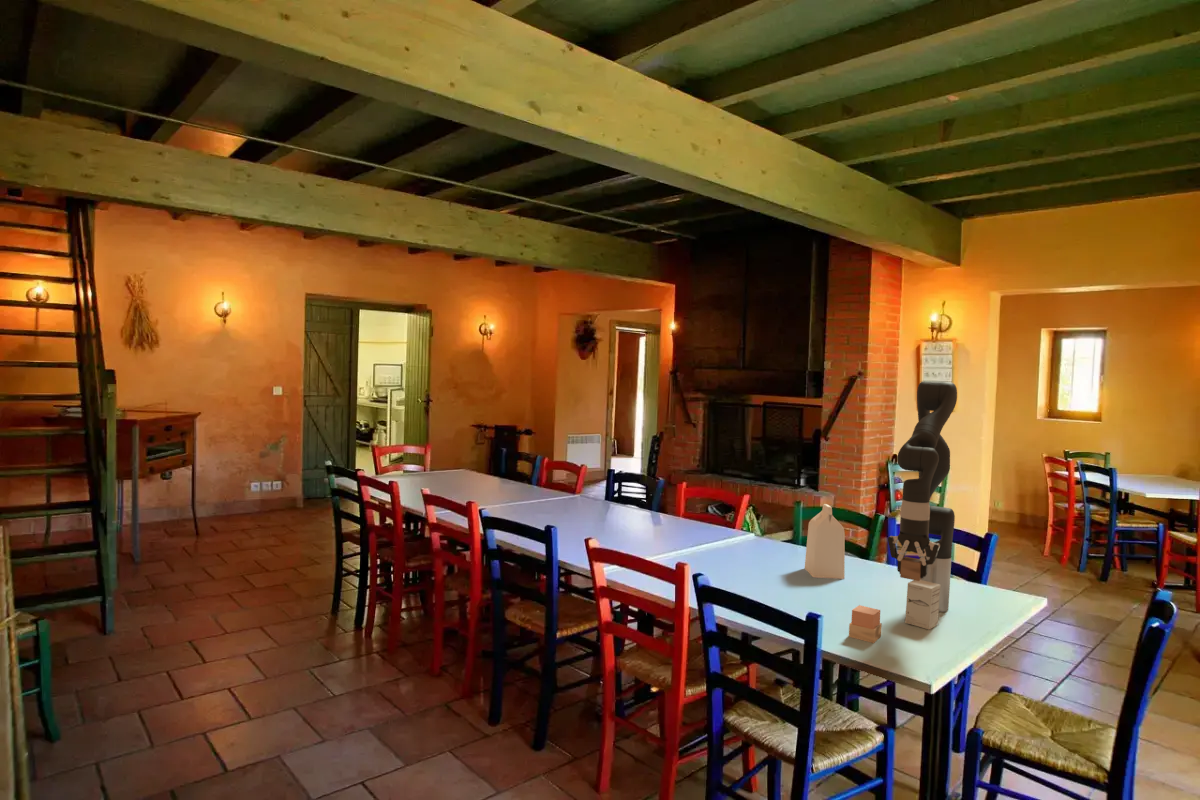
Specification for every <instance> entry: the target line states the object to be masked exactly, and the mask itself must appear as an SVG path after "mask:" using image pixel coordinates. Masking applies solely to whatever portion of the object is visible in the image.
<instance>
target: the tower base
mask: <svg viewBox="0 0 1200 800" xmlns="http://www.w3.org/2000/svg"><path fill="white" fill-rule="evenodd" d="M882 624H883V623H882V622H880V624H879V625H878V626H876V627H875V628H874V629H870V628H866V627H862V626H858V625H854V624H851V622H850V623H849V625H848V626H849V627H848V638H852V639H855V640H856V639H857V640H861V641H865V642H868V643H873V644H875V643H876V642H877V641H878V640H879V639H880V638H881V637H882V629H883V628H882Z"/></svg>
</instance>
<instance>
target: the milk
mask: <svg viewBox="0 0 1200 800" xmlns="http://www.w3.org/2000/svg"><path fill="white" fill-rule="evenodd" d="M832 508H833V507H832V506H831V505H829V504H827V503H823V505H822V510H821V511H820V512H819V513H817V514H816V515H815V516H813V517H812V518H811V519H810V520H809V522H808V527H807V529H808V530H807V538H806V539H807V540H806V546H805V547H806V548H805V559H804V570H805V571H807V573H808V574H809V575H810V576H811V577H813V578H817V579H818V578H819V579H820V578H822V579H838V580H839V579H842V580H844V579H845V575H846V573H845V572H846V571H845V561H846V560H845V554H846V551H845V543H846V542H845V528H844V526H843V525H842V524H841V522H839V520H837V519H836V518H835V517H834V515H833V509H832Z"/></svg>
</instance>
